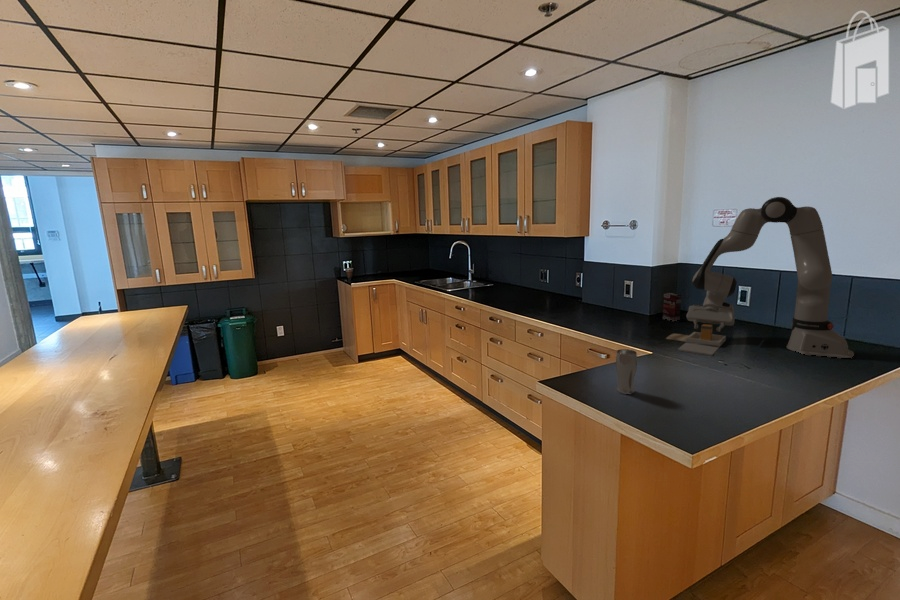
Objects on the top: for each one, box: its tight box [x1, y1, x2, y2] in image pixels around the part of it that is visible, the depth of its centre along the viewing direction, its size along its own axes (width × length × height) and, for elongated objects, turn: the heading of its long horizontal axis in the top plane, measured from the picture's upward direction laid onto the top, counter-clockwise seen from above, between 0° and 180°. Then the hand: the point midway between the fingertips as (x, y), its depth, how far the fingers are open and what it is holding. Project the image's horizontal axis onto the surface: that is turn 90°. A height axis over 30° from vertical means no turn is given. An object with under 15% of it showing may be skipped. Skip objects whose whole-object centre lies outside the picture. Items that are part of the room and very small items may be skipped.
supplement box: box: [662, 292, 682, 322], centre depth 250 cm, size 9×5×16 cm, turn 25°
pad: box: [665, 333, 690, 343], centre depth 213 cm, size 9×12×1 cm
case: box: [677, 331, 727, 357], centre depth 200 cm, size 14×28×3 cm, turn 137°
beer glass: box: [615, 348, 638, 394], centre depth 151 cm, size 7×7×15 cm
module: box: [700, 323, 714, 341], centre depth 204 cm, size 4×4×8 cm
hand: (706, 329), depth 204 cm, fingers open, 8 cm apart
